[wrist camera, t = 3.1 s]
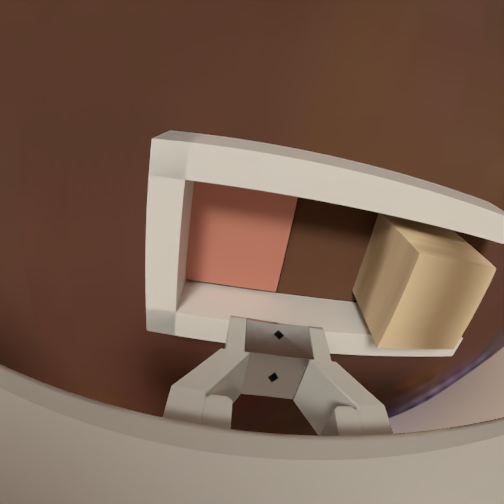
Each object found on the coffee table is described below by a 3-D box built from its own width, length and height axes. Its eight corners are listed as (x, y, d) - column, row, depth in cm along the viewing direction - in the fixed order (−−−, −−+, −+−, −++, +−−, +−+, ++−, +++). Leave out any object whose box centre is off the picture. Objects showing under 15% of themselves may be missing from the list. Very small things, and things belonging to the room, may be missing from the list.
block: (351, 289, 18) (377, 347, 14) (378, 210, 16) (419, 253, 12) (419, 297, 19) (453, 349, 14) (448, 227, 17) (496, 268, 12)
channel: (159, 297, 18) (146, 330, 16) (169, 130, 14) (151, 138, 12) (434, 327, 20) (452, 356, 17) (489, 202, 16) (518, 221, 13)
